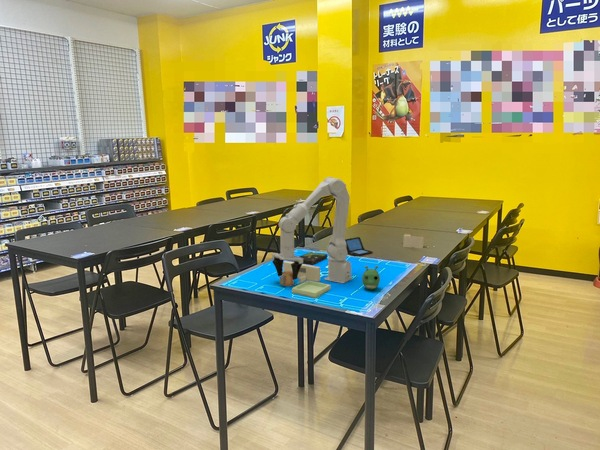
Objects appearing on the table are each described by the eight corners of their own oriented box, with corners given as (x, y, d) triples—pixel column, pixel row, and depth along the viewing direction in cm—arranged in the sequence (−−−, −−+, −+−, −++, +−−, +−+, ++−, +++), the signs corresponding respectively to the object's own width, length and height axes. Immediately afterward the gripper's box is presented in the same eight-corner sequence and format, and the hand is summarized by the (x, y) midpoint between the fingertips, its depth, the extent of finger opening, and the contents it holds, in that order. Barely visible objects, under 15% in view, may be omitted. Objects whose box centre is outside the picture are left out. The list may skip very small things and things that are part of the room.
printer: (320, 280, 193) (320, 267, 192) (311, 285, 188) (311, 271, 186) (285, 273, 203) (285, 261, 202) (276, 277, 197) (276, 264, 196)
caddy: (296, 283, 190) (296, 272, 189) (286, 288, 184) (286, 276, 183) (286, 281, 192) (286, 270, 191) (276, 286, 186) (276, 274, 185)
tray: (330, 289, 182) (330, 284, 182) (315, 298, 172) (315, 293, 172) (307, 284, 188) (307, 280, 188) (292, 293, 178) (292, 288, 178)
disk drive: (313, 266, 216) (327, 259, 229) (313, 261, 216) (327, 253, 228) (294, 263, 222) (309, 256, 234) (294, 258, 221) (309, 251, 234)
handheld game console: (356, 257, 231) (357, 243, 229) (342, 253, 239) (342, 239, 238) (373, 253, 238) (374, 240, 237) (359, 249, 247) (359, 236, 245)
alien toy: (361, 292, 179) (362, 268, 177) (362, 285, 186) (362, 262, 185) (379, 293, 178) (380, 268, 176) (379, 286, 185) (380, 263, 183)
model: (403, 246, 255) (404, 233, 253) (423, 247, 252) (423, 234, 250) (403, 247, 252) (403, 234, 250) (423, 249, 249) (423, 235, 247)
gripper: (267, 245, 186) (267, 276, 189) (296, 250, 178) (296, 282, 181) (277, 242, 192) (277, 272, 195) (306, 246, 184) (305, 278, 187)
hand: (287, 277), depth 188 cm, fingers open, 7 cm apart
